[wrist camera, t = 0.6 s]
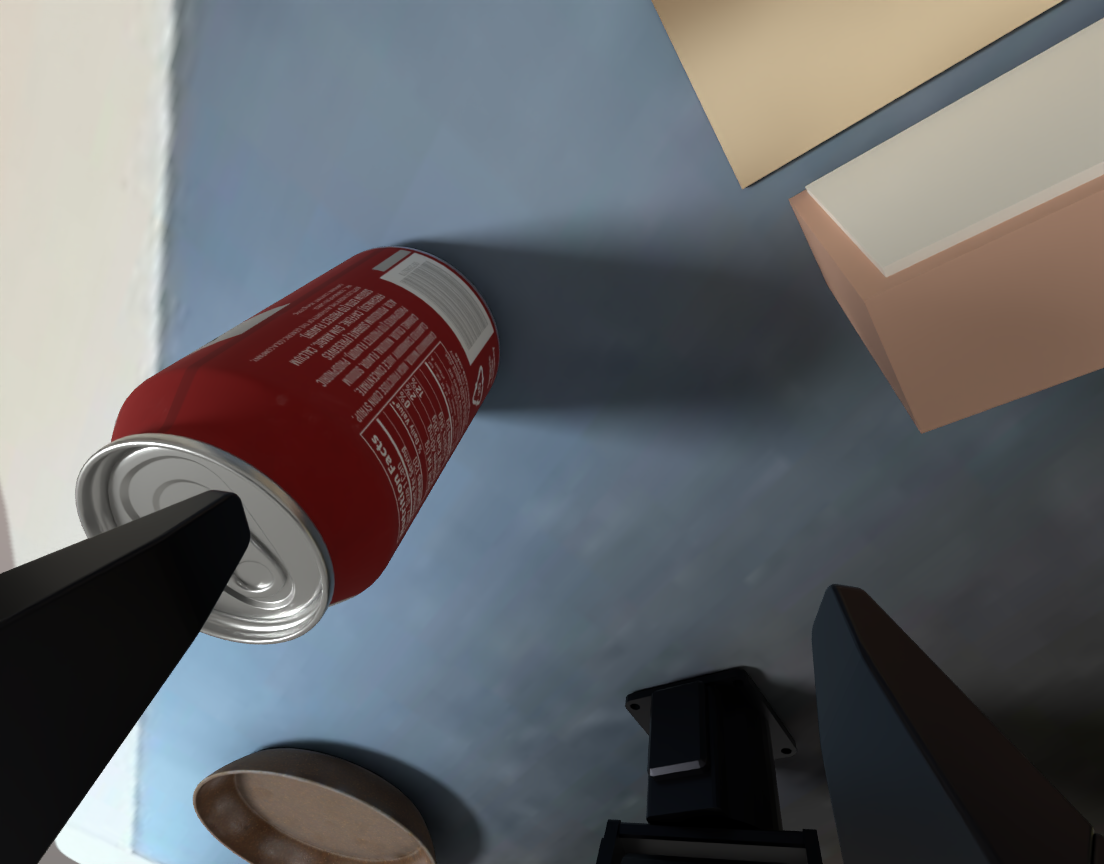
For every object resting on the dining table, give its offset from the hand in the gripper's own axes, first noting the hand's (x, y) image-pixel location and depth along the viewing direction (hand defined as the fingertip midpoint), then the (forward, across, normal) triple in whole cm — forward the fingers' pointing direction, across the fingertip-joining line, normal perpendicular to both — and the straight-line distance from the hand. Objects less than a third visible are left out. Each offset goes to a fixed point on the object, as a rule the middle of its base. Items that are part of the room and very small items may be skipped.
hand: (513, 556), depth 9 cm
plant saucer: (+14, +17, +40) cm, 46 cm away
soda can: (+13, +7, +2) cm, 15 cm away
